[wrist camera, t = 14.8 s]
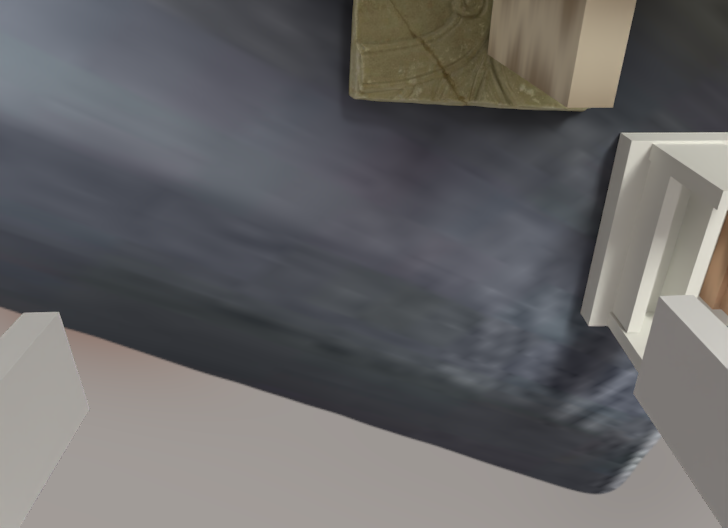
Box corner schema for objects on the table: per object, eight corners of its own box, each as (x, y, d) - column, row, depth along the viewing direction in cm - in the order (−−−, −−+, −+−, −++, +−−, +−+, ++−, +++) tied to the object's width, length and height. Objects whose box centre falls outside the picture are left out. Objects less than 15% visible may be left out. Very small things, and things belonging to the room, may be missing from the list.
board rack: (620, 132, 42) (698, 187, 32) (809, 132, 42) (944, 186, 32) (580, 312, 49) (633, 400, 40) (739, 312, 49) (831, 399, 40)
